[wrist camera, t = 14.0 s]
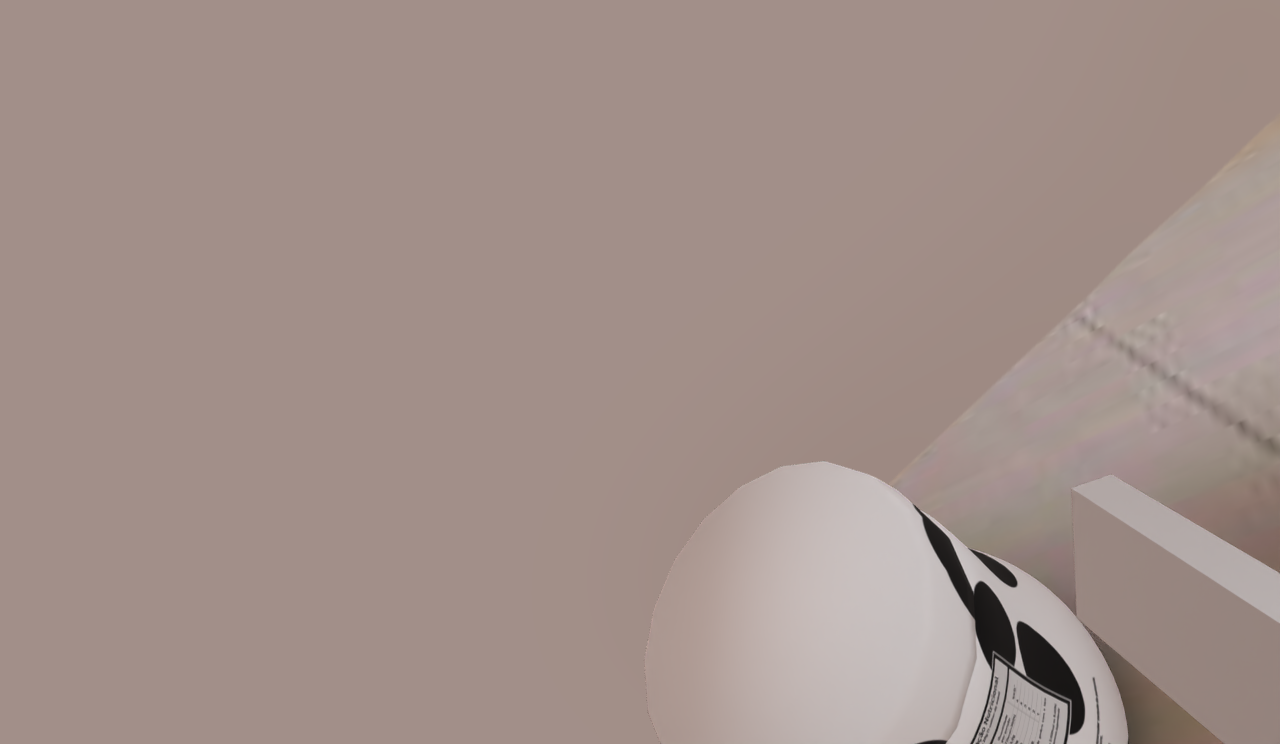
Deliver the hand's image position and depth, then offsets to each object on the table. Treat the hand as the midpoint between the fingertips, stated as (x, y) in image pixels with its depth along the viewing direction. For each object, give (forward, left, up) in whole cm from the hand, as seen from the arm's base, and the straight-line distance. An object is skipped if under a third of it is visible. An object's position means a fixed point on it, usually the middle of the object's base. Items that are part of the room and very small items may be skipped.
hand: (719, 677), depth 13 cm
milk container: (-6, -15, -35) cm, 38 cm away
